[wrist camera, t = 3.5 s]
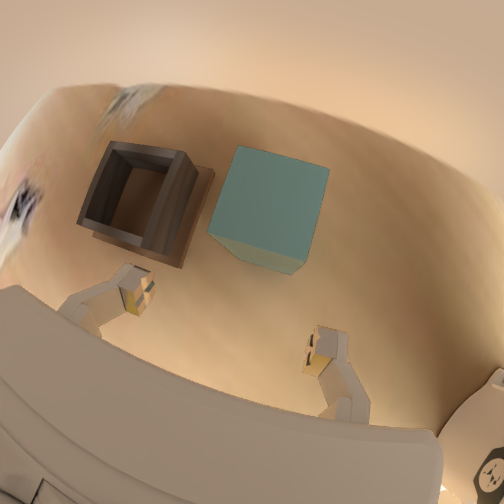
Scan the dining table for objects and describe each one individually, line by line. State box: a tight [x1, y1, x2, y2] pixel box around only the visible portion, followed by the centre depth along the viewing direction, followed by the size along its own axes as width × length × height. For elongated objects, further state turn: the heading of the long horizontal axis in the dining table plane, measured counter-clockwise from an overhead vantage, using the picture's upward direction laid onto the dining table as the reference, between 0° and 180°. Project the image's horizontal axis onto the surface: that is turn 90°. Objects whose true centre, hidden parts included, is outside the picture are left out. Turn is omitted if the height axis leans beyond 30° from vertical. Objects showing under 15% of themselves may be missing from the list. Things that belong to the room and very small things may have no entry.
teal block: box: [207, 145, 330, 275], centre depth 19 cm, size 5×5×12 cm
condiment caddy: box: [76, 141, 215, 269], centre depth 24 cm, size 11×10×6 cm
